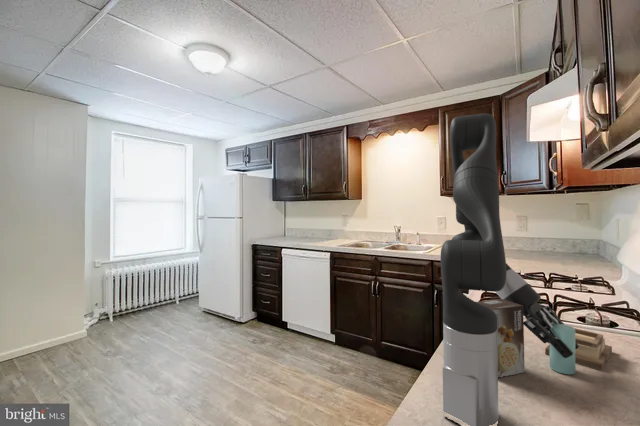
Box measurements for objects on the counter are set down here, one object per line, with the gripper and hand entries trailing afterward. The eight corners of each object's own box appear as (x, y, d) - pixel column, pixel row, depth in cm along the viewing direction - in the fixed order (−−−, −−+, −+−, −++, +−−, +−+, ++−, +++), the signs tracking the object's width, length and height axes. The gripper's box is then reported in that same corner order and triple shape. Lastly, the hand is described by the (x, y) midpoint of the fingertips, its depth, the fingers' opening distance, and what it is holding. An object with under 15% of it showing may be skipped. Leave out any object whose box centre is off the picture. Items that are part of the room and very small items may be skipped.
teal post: (572, 376, 69) (572, 333, 69) (547, 368, 73) (546, 327, 73) (577, 369, 72) (577, 327, 72) (552, 361, 76) (552, 321, 76)
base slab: (601, 371, 72) (601, 349, 72) (545, 354, 80) (545, 335, 80) (611, 352, 81) (611, 333, 80) (560, 338, 89) (560, 321, 89)
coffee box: (502, 360, 78) (501, 297, 77) (525, 373, 72) (524, 305, 71) (472, 365, 75) (471, 301, 75) (493, 379, 69) (493, 309, 69)
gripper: (515, 287, 74) (579, 355, 64) (534, 278, 83) (594, 336, 73) (491, 304, 78) (549, 370, 69) (513, 293, 87) (566, 350, 78)
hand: (572, 352), depth 71 cm, fingers closed on teal post, 4 cm apart
